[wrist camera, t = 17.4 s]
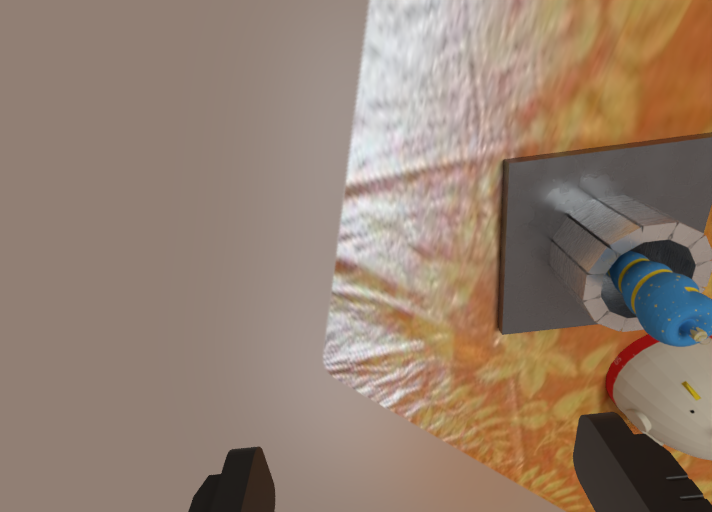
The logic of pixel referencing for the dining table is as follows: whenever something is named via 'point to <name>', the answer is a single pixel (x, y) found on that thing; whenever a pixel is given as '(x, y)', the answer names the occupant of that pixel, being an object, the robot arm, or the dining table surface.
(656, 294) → the ornament
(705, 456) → the kitchen timer
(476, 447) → the dining table surface
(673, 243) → the tube on square plate
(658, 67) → the dining table surface
